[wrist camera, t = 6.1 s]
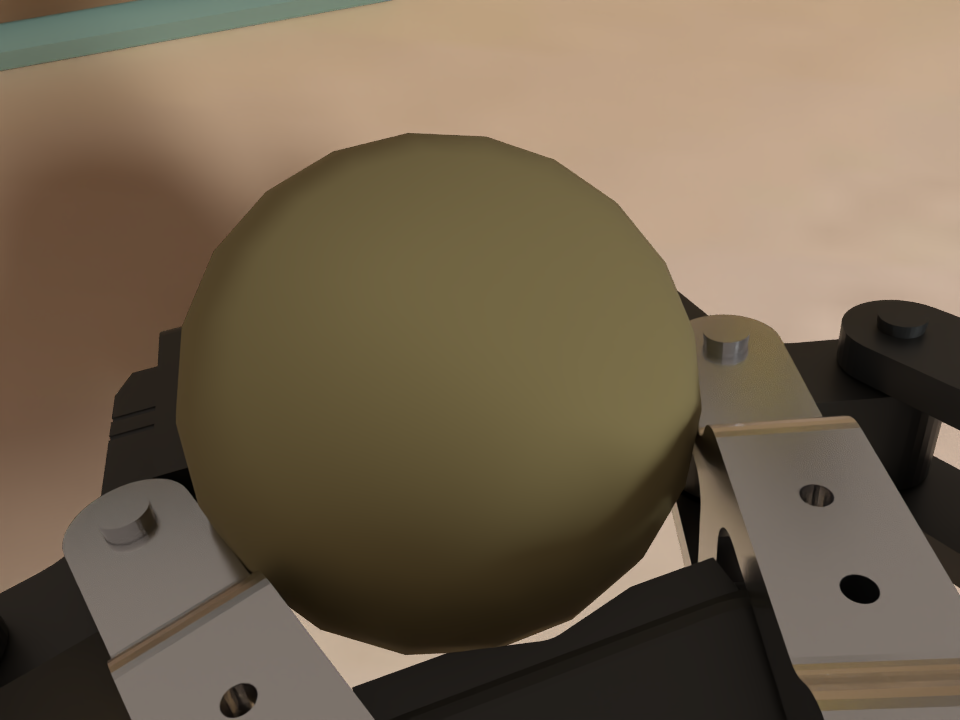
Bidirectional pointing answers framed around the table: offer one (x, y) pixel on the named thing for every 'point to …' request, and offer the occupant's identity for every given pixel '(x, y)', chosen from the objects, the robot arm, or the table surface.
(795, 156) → the table surface
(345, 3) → the track and backstop
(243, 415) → the olive knob
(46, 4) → the wooden tray
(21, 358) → the table surface
